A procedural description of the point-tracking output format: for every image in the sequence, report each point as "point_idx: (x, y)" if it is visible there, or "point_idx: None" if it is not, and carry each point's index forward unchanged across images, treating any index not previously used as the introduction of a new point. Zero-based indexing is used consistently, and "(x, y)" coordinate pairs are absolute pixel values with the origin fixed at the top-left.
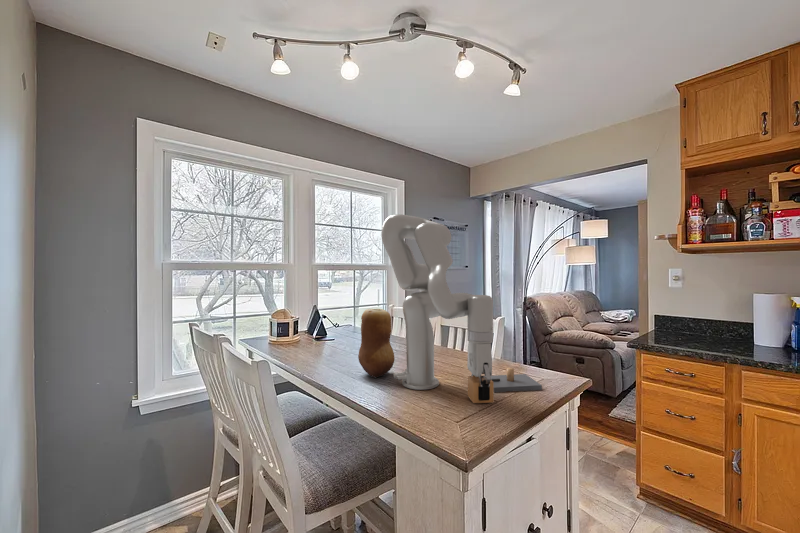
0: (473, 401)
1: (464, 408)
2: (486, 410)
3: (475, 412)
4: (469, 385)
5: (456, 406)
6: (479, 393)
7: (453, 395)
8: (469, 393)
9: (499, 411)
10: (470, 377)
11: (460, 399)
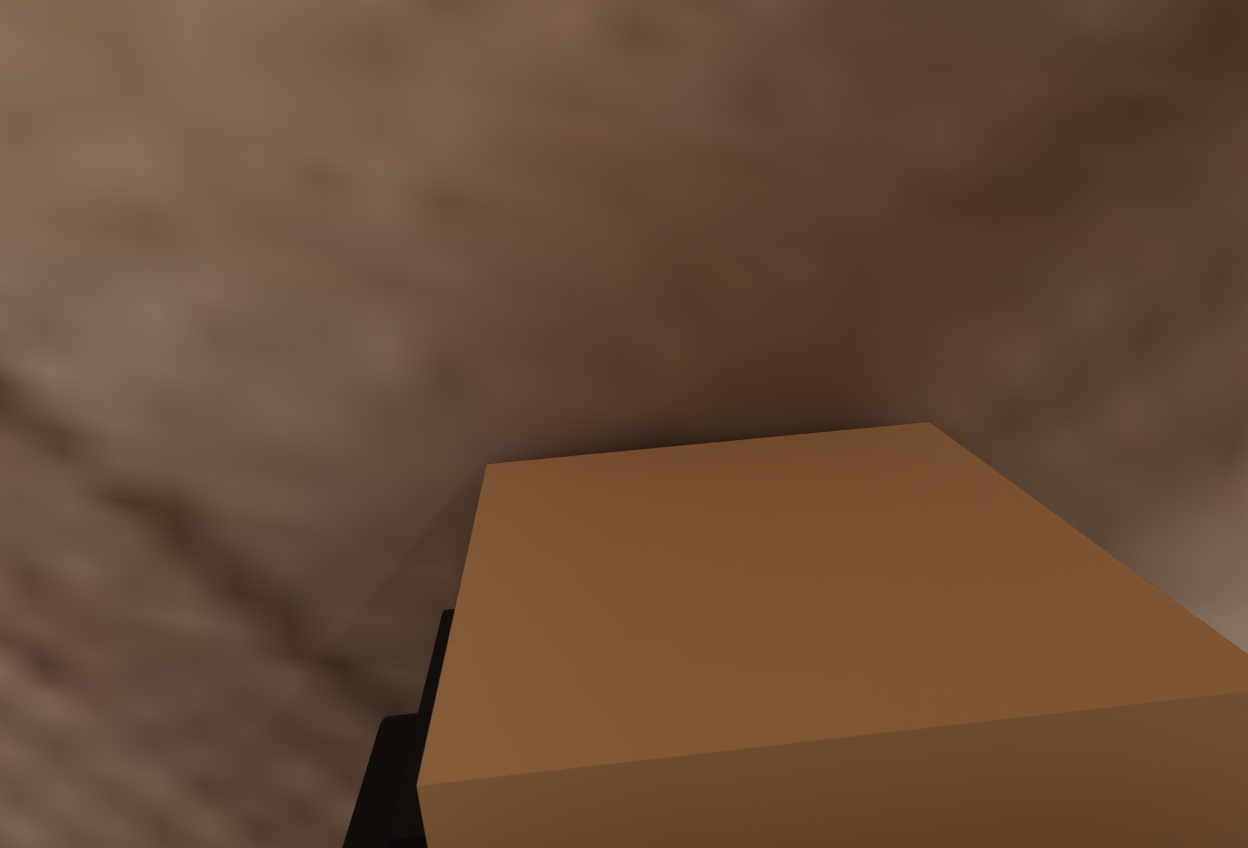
0: (491, 475)
1: (248, 211)
2: (176, 637)
3: (41, 410)
4: (901, 562)
5: (362, 35)
6: (422, 711)
7: (1059, 95)
8: (821, 468)
9: (151, 836)
10: (1092, 764)
11: (790, 221)
